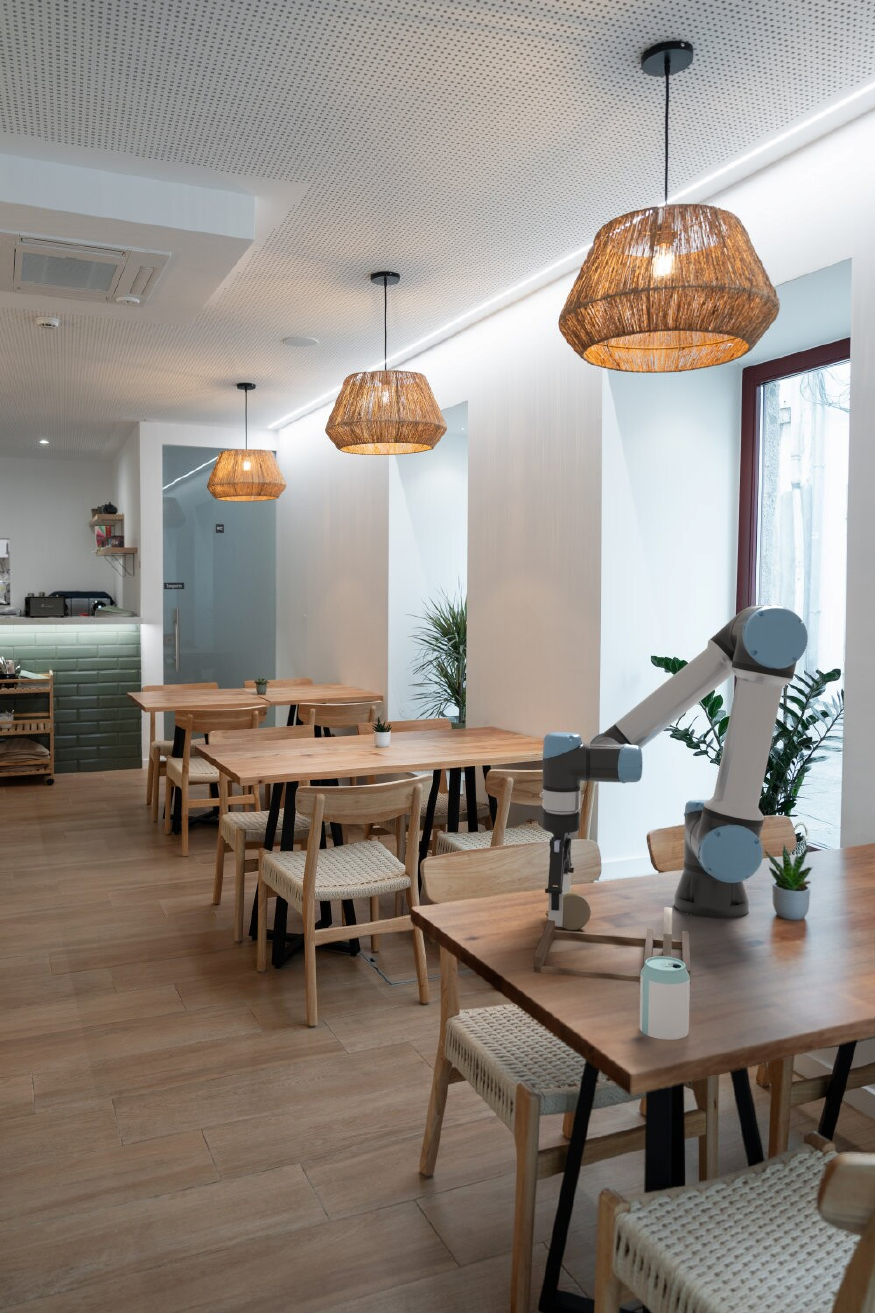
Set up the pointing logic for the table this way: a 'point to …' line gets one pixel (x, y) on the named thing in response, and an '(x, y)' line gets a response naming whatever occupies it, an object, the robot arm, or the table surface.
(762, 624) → the robot arm
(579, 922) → the mug
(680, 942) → the rack
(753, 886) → the table surface
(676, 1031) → the can
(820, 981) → the table surface
